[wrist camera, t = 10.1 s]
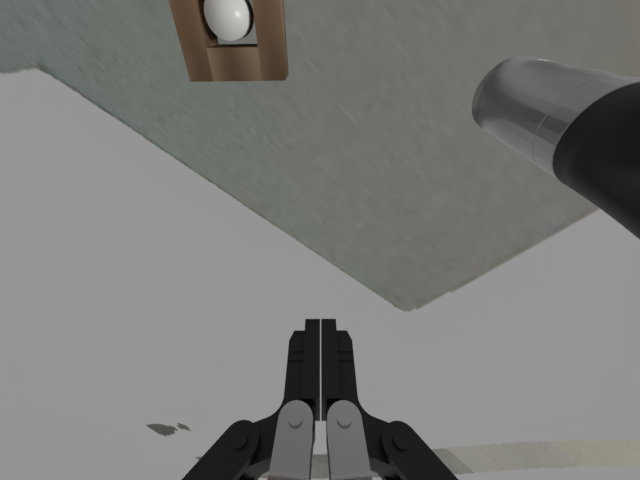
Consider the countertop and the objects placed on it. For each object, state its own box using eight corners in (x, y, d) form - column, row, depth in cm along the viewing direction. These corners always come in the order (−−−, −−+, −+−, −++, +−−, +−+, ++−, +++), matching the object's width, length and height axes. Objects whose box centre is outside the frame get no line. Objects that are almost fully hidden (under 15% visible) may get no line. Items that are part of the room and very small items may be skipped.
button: (250, -13, 30) (243, -16, 27) (256, 38, 32) (251, 40, 30) (209, -12, 30) (198, -15, 27) (219, 39, 32) (210, 41, 30)
